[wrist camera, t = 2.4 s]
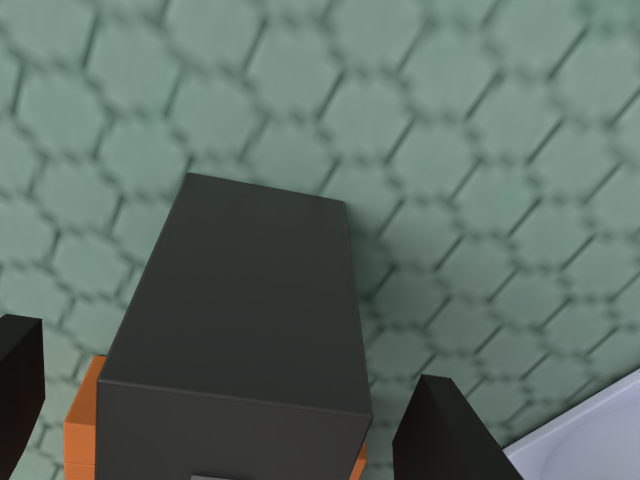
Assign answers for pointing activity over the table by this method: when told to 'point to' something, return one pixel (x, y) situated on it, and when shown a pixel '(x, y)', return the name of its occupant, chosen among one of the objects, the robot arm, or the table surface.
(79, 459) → the orange two-hole brick
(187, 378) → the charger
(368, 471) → the table surface
